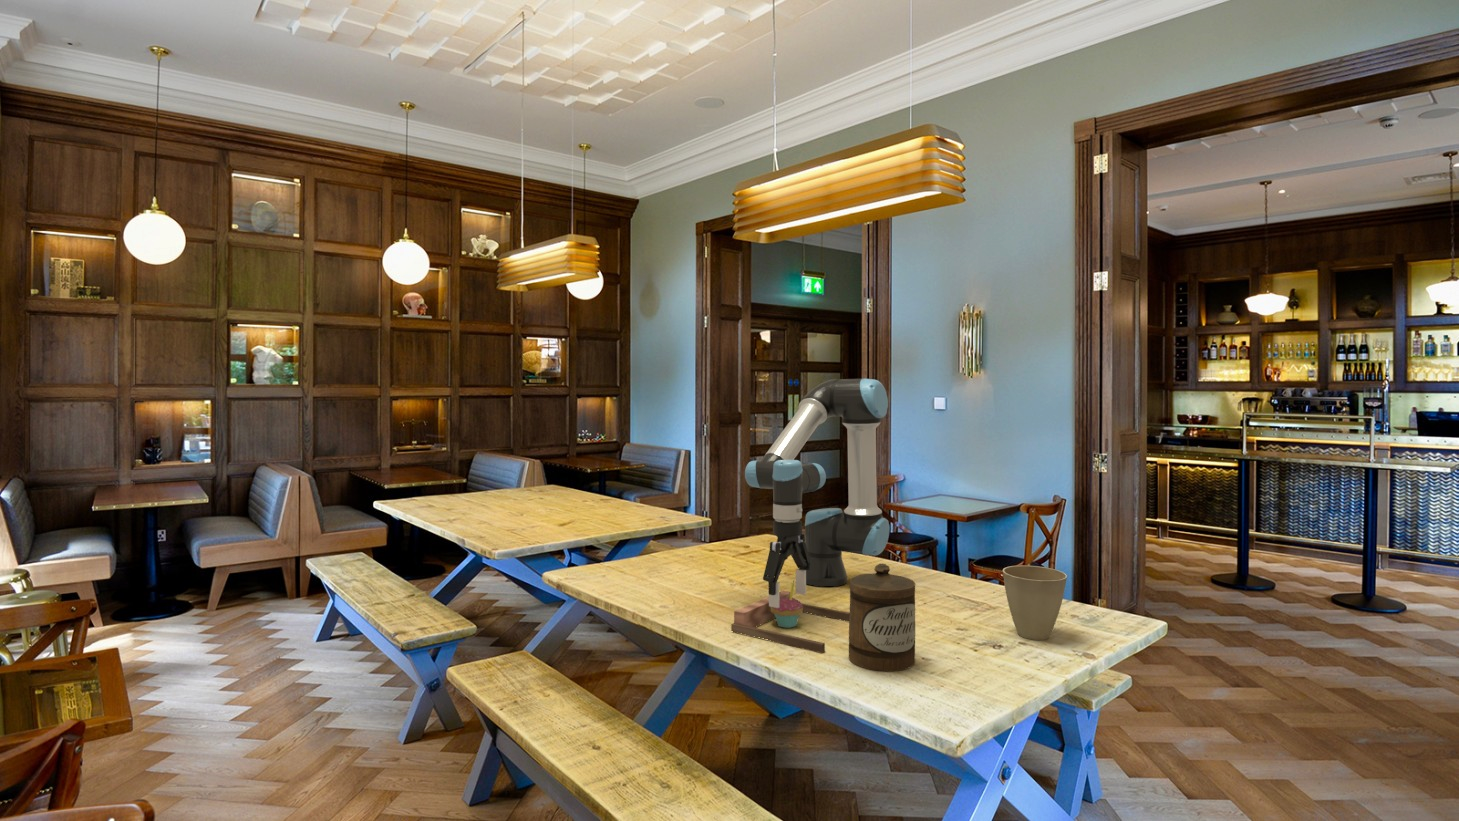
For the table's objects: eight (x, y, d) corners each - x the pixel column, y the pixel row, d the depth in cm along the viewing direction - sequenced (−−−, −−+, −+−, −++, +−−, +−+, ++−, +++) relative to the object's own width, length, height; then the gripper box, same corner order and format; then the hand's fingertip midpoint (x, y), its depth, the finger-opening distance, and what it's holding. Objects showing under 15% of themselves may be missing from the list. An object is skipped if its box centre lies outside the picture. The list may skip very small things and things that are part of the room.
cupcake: (807, 622, 199) (807, 577, 198) (796, 632, 191) (796, 585, 191) (776, 618, 202) (776, 573, 202) (765, 627, 195) (765, 581, 194)
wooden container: (872, 676, 162) (873, 574, 161) (836, 653, 176) (837, 560, 175) (928, 666, 168) (929, 568, 167) (889, 645, 182) (890, 554, 181)
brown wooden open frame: (785, 607, 212) (785, 589, 212) (870, 624, 197) (870, 605, 197) (731, 631, 191) (731, 612, 191) (822, 653, 176) (822, 631, 176)
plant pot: (989, 630, 193) (989, 568, 192) (1033, 623, 199) (1034, 563, 198) (1033, 649, 179) (1034, 582, 179) (1079, 640, 185) (1080, 576, 185)
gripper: (774, 529, 184) (774, 615, 185) (823, 513, 204) (823, 591, 205) (748, 526, 188) (749, 609, 189) (799, 511, 208) (799, 586, 209)
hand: (787, 600), depth 197 cm, fingers open, 13 cm apart
